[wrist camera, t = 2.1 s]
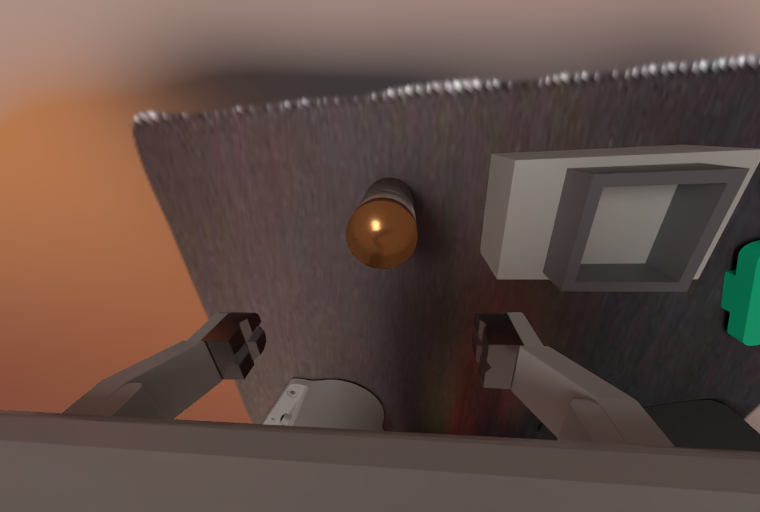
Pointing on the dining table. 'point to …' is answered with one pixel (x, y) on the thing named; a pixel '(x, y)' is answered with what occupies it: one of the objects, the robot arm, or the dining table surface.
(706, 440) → the handheld gaming console
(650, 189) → the grey pedestal block
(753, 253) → the camera mount
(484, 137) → the dining table surface
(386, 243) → the glass jar
